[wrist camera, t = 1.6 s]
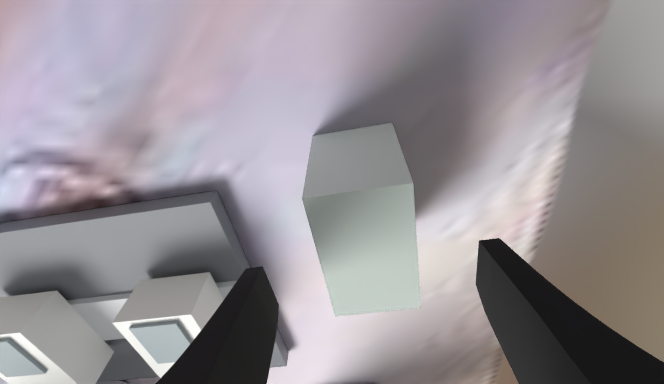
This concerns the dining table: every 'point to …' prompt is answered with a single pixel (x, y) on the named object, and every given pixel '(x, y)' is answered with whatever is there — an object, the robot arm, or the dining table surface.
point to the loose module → (363, 220)
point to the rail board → (114, 289)
